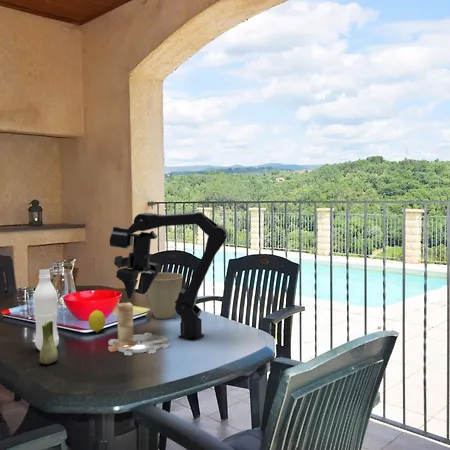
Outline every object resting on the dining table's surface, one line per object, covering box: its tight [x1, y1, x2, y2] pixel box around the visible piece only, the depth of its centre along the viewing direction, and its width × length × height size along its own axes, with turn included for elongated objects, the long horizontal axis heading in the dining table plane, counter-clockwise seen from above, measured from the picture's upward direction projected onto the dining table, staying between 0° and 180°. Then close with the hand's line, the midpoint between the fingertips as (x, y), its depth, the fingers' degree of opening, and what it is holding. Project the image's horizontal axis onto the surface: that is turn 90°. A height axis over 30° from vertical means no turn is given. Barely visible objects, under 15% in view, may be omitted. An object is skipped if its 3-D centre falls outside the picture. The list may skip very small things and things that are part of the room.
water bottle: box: [32, 268, 60, 352], centre depth 163 cm, size 7×7×25 cm
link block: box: [116, 302, 134, 346], centre depth 164 cm, size 4×4×12 cm
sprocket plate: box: [107, 332, 170, 356], centre depth 167 cm, size 19×19×1 cm
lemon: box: [88, 309, 106, 333], centre depth 182 cm, size 6×6×8 cm
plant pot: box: [146, 272, 184, 320], centre depth 202 cm, size 15×15×16 cm
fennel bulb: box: [39, 321, 59, 365], centre depth 151 cm, size 6×5×12 cm
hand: (137, 295), depth 177 cm, fingers open, 9 cm apart
